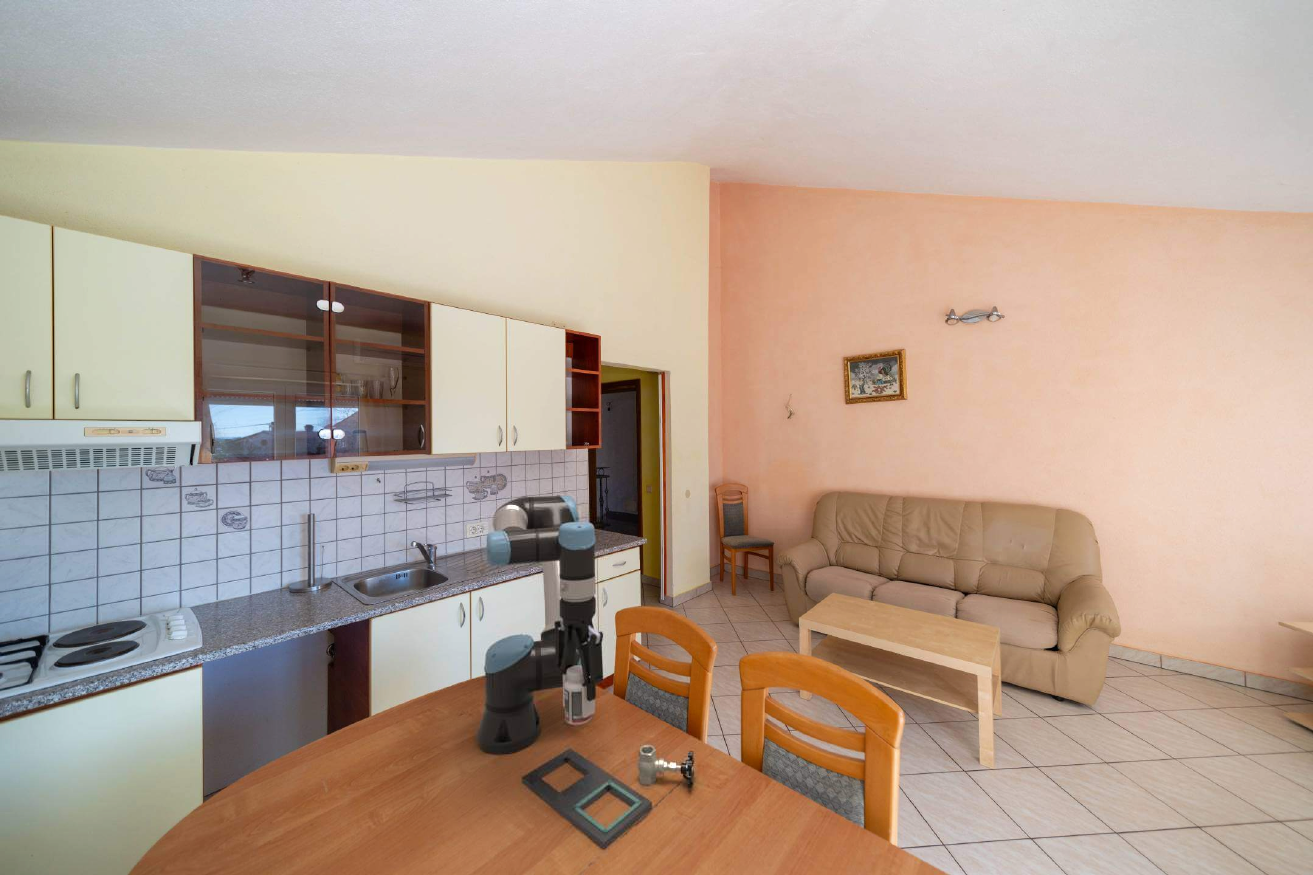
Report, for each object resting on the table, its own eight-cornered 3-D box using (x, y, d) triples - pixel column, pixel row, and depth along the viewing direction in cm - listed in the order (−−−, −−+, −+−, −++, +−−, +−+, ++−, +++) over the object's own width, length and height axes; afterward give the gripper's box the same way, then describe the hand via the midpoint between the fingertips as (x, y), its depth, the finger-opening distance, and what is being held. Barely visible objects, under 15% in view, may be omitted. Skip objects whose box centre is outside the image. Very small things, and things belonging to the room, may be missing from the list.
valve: (635, 789, 101) (691, 796, 99) (634, 758, 101) (691, 763, 99) (640, 768, 107) (694, 774, 105) (640, 739, 107) (694, 744, 105)
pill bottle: (597, 713, 101) (596, 666, 102) (583, 728, 96) (583, 677, 96) (573, 709, 103) (573, 662, 104) (559, 722, 98) (558, 673, 98)
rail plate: (521, 782, 103) (521, 776, 103) (569, 752, 113) (569, 746, 113) (603, 849, 86) (603, 841, 86) (652, 807, 95) (651, 800, 96)
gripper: (537, 592, 104) (537, 701, 103) (592, 610, 92) (593, 734, 90) (565, 585, 110) (566, 688, 109) (620, 601, 97) (622, 717, 96)
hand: (578, 709), depth 100 cm, fingers closed on pill bottle, 6 cm apart
